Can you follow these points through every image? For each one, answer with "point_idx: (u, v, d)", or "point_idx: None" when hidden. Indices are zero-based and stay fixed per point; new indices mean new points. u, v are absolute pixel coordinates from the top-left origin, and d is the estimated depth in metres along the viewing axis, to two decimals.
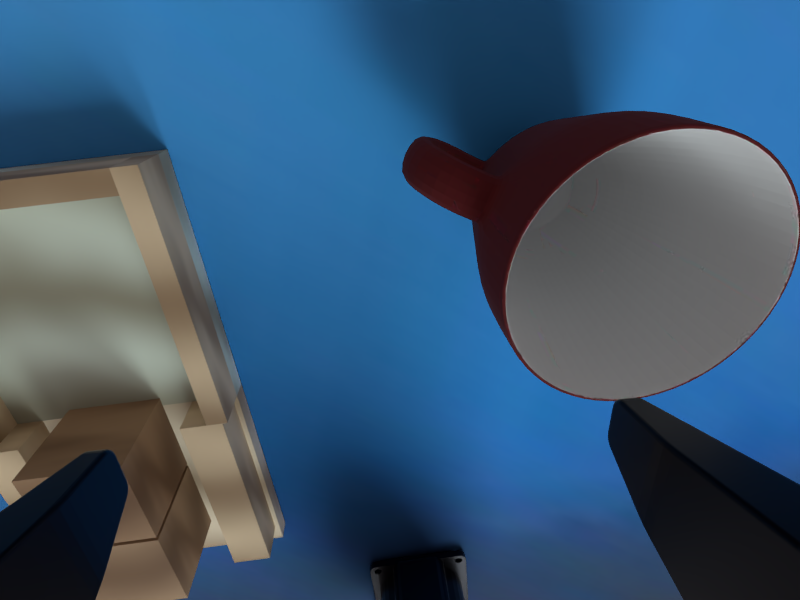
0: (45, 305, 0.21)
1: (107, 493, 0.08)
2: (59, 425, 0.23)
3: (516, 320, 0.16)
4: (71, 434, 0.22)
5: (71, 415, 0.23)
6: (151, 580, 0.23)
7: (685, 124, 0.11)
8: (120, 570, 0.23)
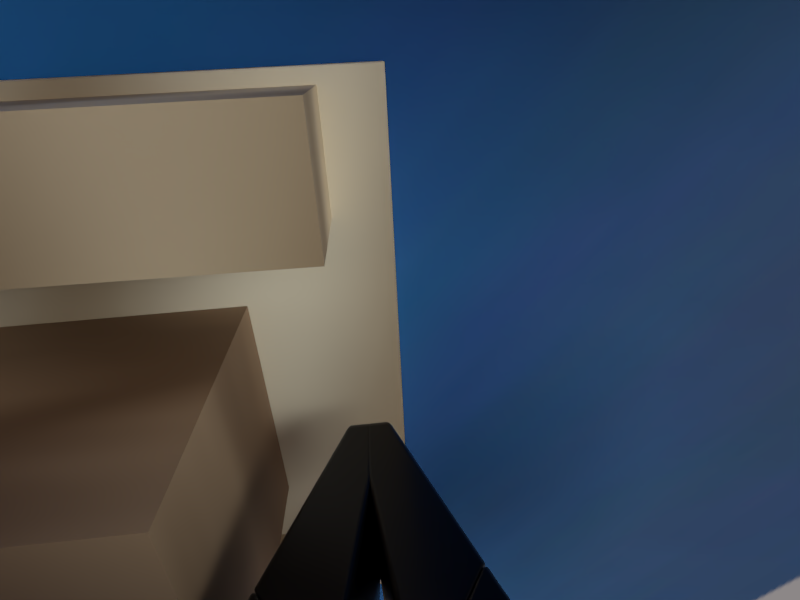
0: None
1: None
2: None
3: None
4: None
5: None
6: None
7: None
8: None
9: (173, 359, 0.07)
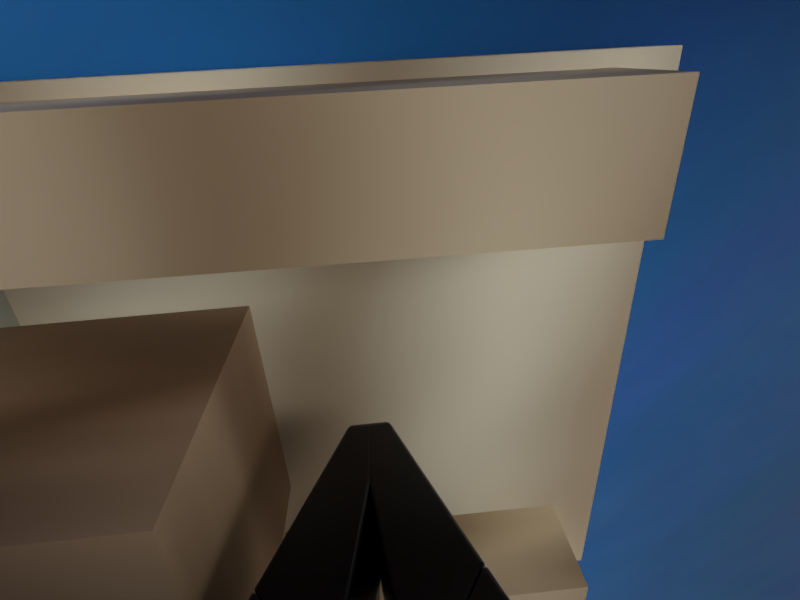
0: None
1: None
2: None
3: None
4: None
5: None
6: None
7: None
8: None
9: (176, 359, 0.07)
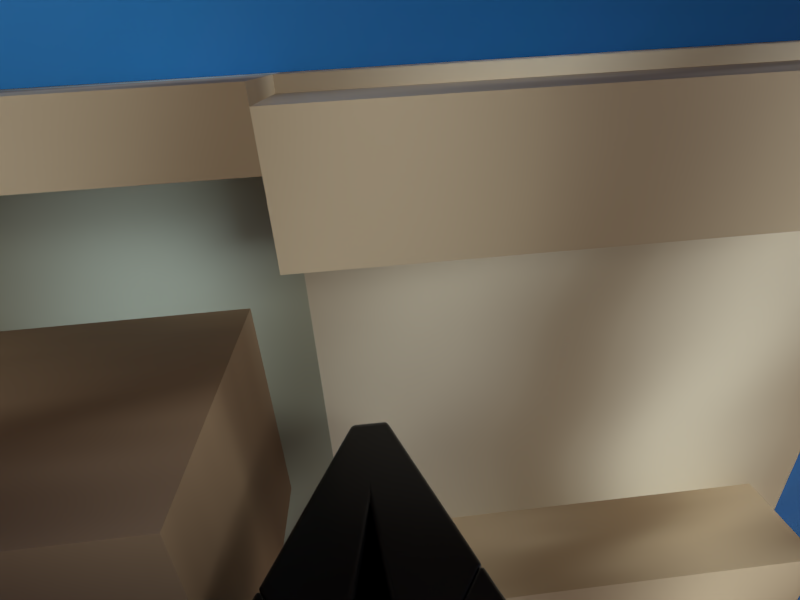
0: None
1: None
2: None
3: None
4: None
5: None
6: None
7: None
8: None
9: (178, 362, 0.07)
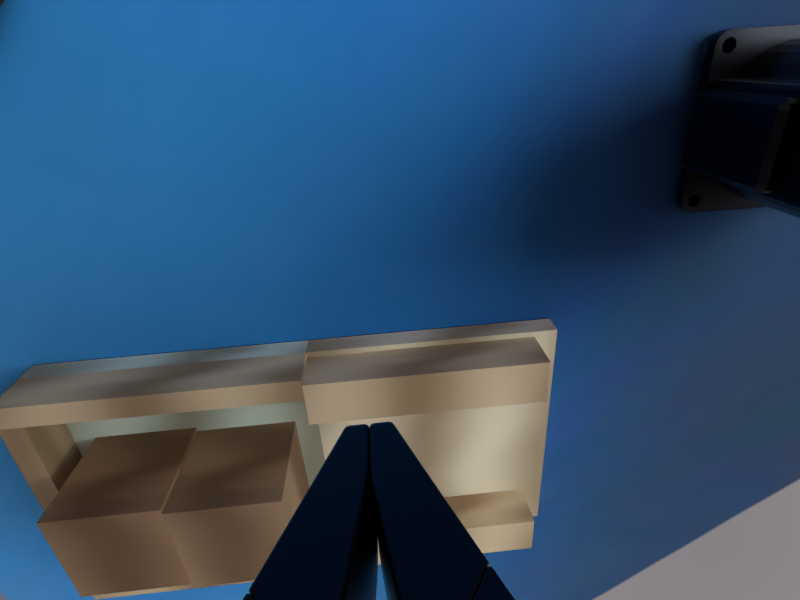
0: None
1: None
2: None
3: None
4: None
5: None
6: (242, 527, 0.19)
7: None
8: (222, 549, 0.19)
9: (273, 447, 0.21)
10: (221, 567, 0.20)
